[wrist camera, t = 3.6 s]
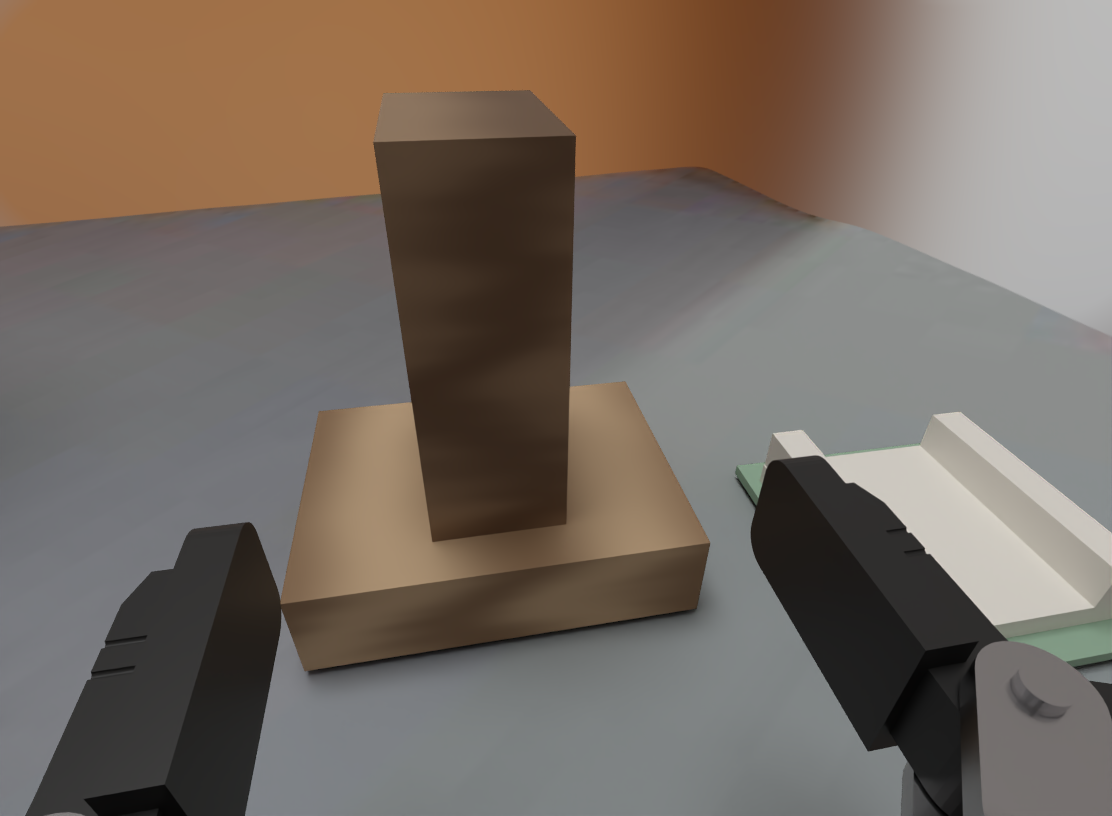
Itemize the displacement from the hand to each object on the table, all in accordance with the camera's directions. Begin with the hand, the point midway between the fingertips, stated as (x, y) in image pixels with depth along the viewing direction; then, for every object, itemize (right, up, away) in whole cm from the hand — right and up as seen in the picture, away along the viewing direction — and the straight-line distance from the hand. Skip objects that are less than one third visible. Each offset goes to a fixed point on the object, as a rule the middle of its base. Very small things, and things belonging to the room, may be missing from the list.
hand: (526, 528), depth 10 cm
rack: (+13, -3, +12) cm, 18 cm away
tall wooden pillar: (-2, 0, +11) cm, 11 cm away
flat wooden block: (-2, -3, +13) cm, 13 cm away
